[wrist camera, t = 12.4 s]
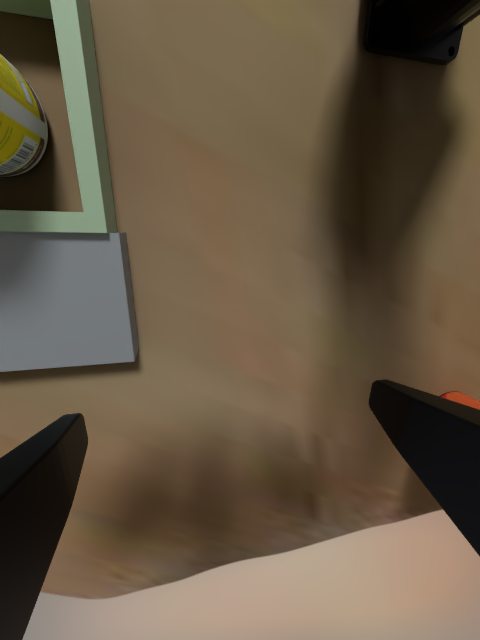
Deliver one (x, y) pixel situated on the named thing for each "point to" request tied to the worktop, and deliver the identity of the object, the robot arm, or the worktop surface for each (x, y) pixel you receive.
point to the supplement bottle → (19, 123)
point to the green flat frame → (68, 234)
